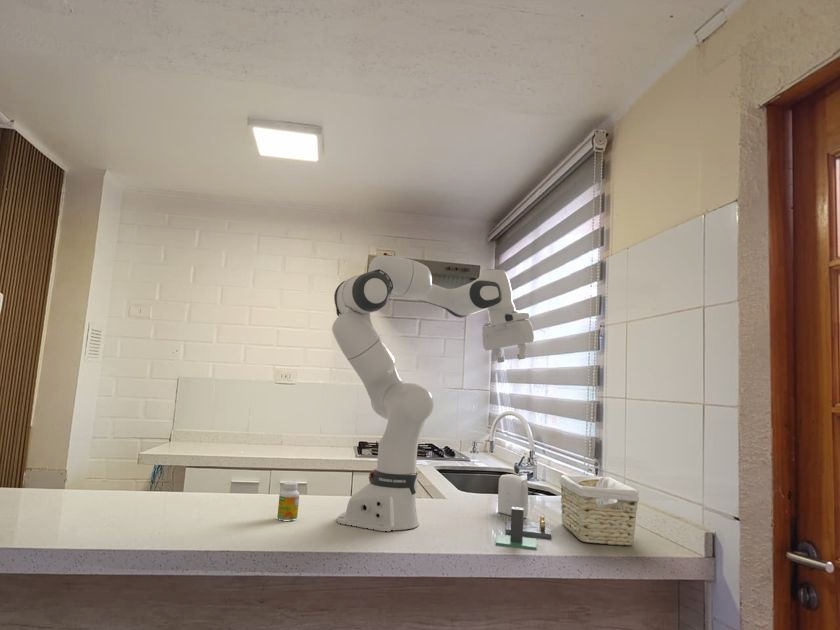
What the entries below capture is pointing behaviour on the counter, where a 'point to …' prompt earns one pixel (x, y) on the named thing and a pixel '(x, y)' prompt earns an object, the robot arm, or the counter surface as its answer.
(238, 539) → the counter surface
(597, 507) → the storage basket
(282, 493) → the supplement bottle
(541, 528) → the chassis
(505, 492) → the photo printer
